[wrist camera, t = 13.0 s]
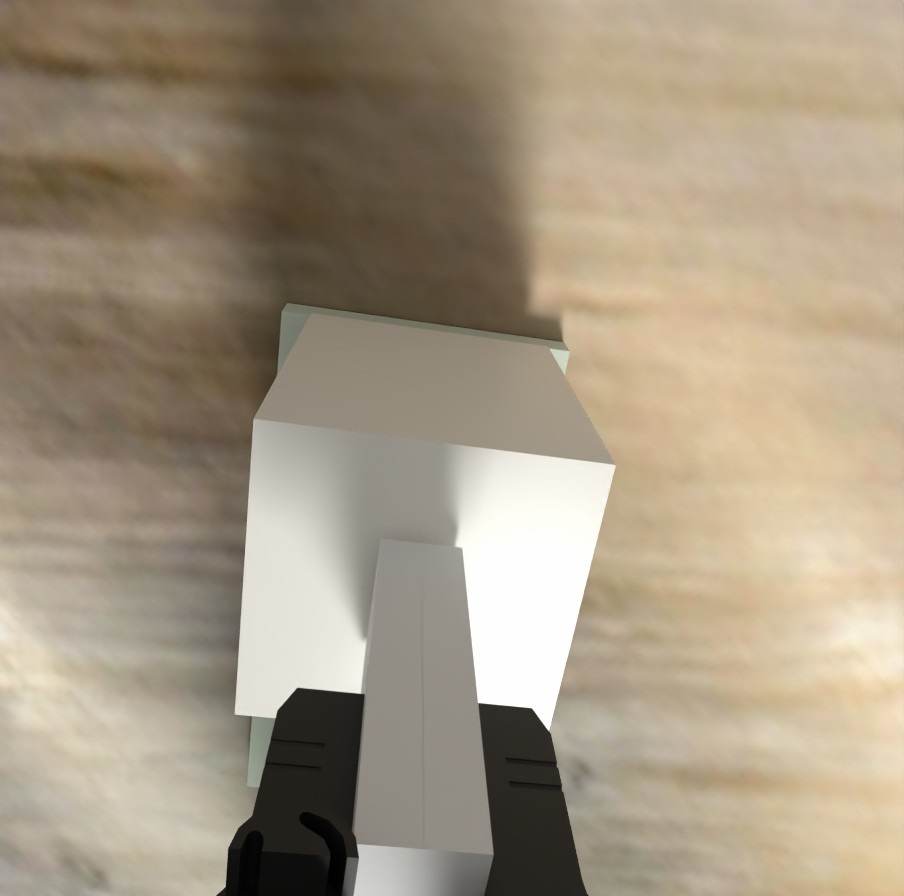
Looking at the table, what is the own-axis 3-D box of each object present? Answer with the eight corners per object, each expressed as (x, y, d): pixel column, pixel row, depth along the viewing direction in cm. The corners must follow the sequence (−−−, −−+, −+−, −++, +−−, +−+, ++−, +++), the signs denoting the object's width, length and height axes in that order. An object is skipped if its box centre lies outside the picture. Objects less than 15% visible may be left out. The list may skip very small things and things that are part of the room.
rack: (252, 765, 29) (212, 919, 23) (287, 303, 22) (244, 363, 17) (470, 784, 30) (482, 937, 24) (563, 342, 23) (609, 412, 18)
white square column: (292, 526, 23) (234, 714, 16) (311, 312, 21) (253, 418, 14) (506, 550, 24) (545, 743, 17) (548, 346, 22) (615, 465, 14)
